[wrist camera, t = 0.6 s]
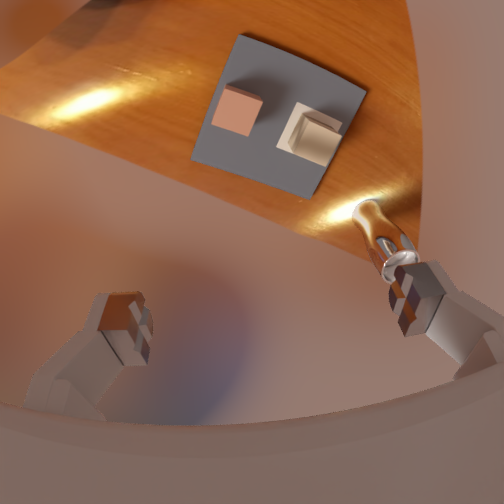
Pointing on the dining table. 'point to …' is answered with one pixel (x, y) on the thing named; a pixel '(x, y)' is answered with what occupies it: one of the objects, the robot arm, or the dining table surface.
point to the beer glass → (383, 239)
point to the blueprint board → (276, 116)
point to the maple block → (313, 140)
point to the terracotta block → (237, 110)
